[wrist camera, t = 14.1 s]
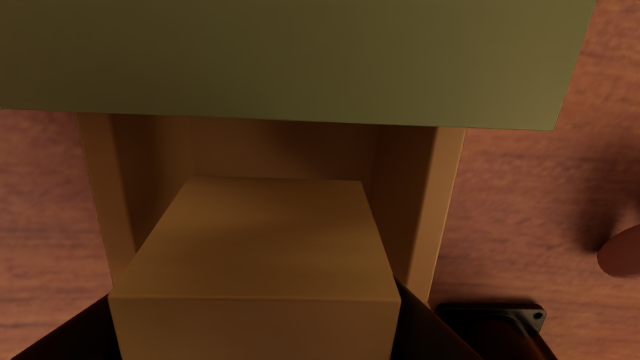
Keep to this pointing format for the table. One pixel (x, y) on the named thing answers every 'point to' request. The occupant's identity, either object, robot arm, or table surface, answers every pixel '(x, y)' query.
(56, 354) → the robot arm
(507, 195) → the table surface
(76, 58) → the cabinet
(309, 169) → the drawer
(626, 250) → the pink toy car
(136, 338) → the block
